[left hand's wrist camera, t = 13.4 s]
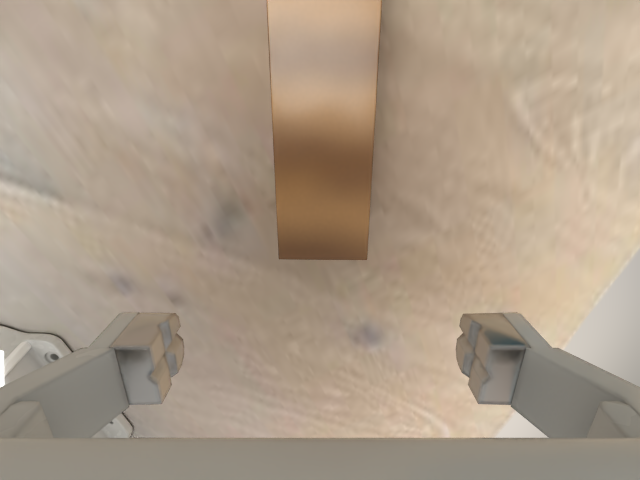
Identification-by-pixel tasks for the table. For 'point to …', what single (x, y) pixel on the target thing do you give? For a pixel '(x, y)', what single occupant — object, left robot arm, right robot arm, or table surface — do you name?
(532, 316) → the table surface
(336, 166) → the box
